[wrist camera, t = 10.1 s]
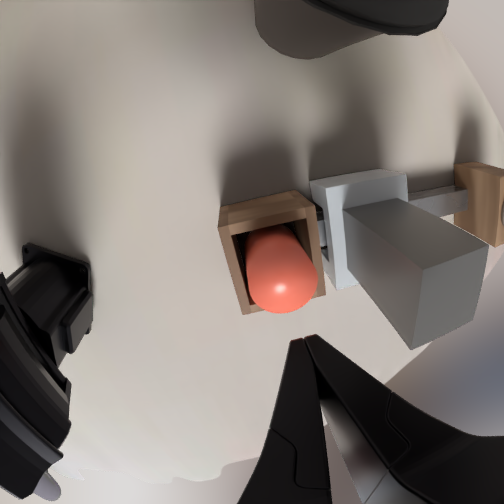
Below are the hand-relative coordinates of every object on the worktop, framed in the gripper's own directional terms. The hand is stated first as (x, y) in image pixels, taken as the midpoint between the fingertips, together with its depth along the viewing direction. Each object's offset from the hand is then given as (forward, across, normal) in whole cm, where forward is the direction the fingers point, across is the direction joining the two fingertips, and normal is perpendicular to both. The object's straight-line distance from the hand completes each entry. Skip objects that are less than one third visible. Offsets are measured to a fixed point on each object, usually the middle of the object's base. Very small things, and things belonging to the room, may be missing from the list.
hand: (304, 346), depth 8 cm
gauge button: (+8, 0, 0) cm, 8 cm away
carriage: (+10, -6, 0) cm, 11 cm away
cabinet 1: (+10, -17, 0) cm, 20 cm away
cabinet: (+10, 0, 0) cm, 10 cm away
